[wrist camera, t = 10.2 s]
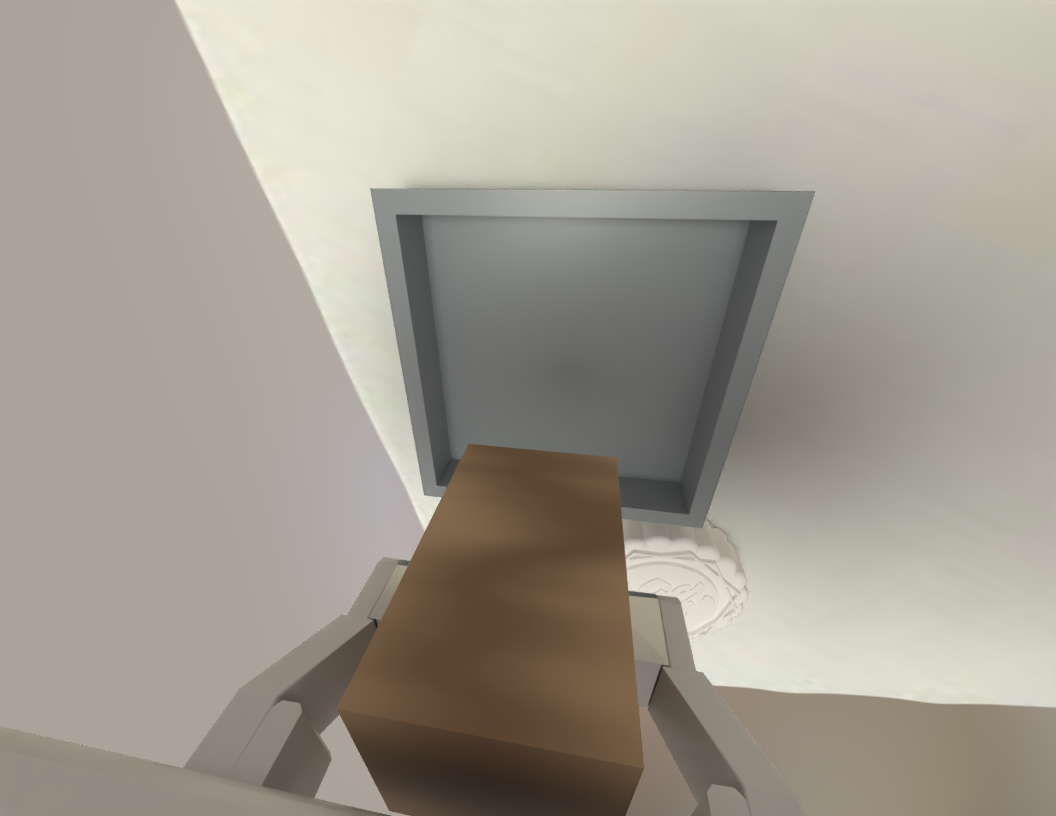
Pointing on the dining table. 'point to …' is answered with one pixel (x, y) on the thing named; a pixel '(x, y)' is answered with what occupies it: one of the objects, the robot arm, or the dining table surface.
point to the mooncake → (687, 571)
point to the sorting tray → (586, 326)
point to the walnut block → (507, 649)
